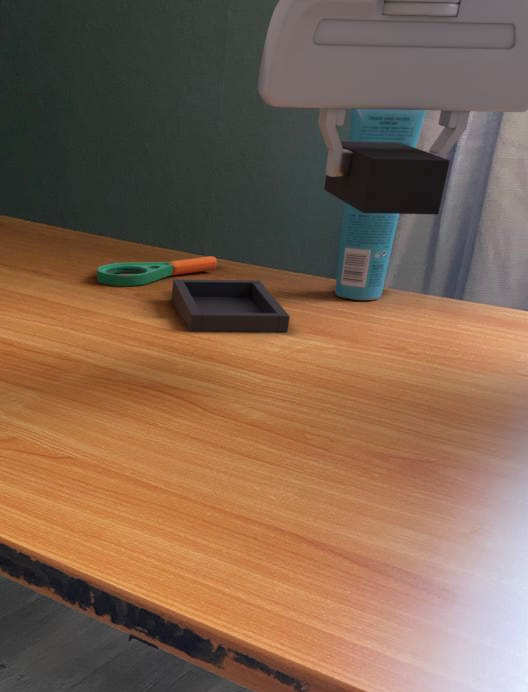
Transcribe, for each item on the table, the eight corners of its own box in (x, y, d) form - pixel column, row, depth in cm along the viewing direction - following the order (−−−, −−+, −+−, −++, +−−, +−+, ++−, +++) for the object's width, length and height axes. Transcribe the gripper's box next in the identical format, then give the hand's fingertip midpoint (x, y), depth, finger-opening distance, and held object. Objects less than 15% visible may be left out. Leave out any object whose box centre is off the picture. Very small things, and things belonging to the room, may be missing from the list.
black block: (391, 191, 82) (400, 142, 80) (438, 214, 72) (450, 160, 70) (323, 189, 81) (331, 141, 80) (362, 213, 72) (372, 158, 70)
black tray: (257, 300, 106) (259, 280, 105) (286, 338, 94) (290, 315, 92) (171, 299, 106) (173, 279, 105) (189, 337, 93) (191, 314, 92)
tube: (387, 292, 110) (424, 95, 100) (396, 302, 106) (435, 98, 96) (319, 289, 111) (349, 93, 100) (325, 300, 106) (357, 96, 96)
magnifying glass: (112, 288, 110) (113, 272, 109) (87, 277, 114) (87, 261, 113) (226, 276, 115) (228, 261, 114) (197, 266, 120) (199, 251, 119)
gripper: (549, -37, 72) (498, 173, 79) (267, -44, 71) (243, 168, 78) (591, -40, 66) (532, 185, 74) (287, -48, 66) (259, 180, 73)
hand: (381, 176), depth 76 cm, fingers closed on black block, 5 cm apart
